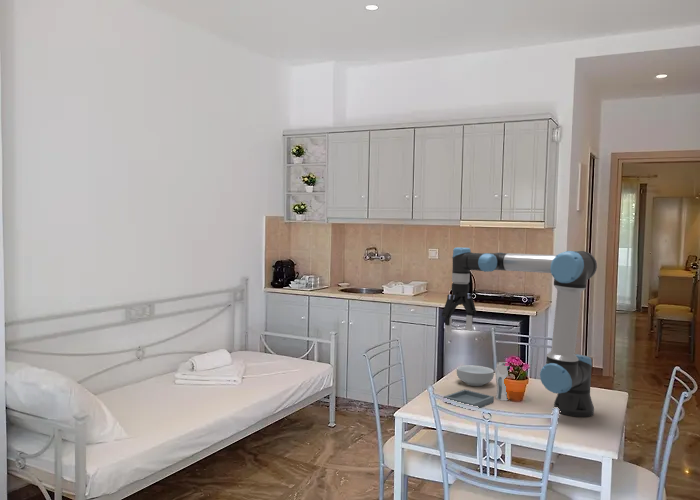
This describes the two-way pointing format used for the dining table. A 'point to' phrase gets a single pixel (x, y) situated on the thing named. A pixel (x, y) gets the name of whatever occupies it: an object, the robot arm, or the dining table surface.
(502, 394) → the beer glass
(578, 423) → the dining table surface
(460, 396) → the tray
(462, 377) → the cereal bowl
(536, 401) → the dining table surface
